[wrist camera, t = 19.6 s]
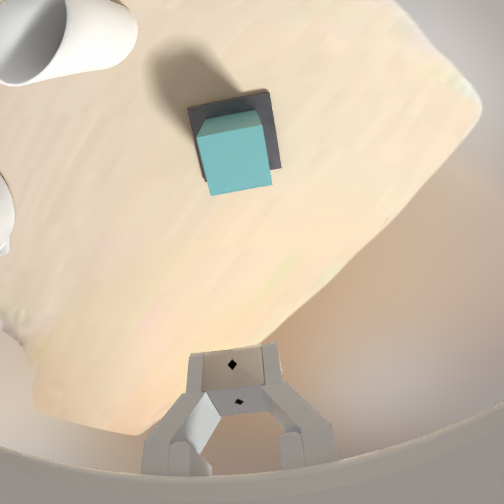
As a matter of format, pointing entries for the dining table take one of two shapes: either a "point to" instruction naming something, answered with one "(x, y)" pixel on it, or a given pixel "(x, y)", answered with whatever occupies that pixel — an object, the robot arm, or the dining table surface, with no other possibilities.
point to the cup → (61, 38)
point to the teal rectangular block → (234, 153)
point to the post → (236, 106)
